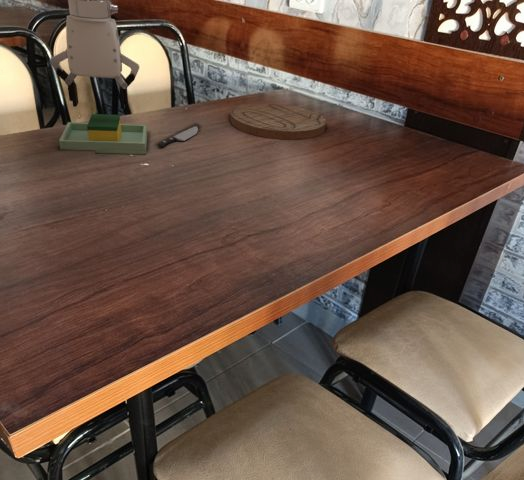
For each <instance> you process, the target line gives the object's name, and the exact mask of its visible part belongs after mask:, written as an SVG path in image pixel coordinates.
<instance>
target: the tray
mask: <svg viewBox="0 0 524 480" xmlns="http://www.w3.org/2000/svg"><path fill="white" fill-rule="evenodd" d="M88 123H89V122H75V121H73V122H72V121H71V122H70V121H68V122H67V123H66V125H65V128H64V129H63V131H62V134H61V136H60V138H59V140H58V143H59V150H70V151H71V150H72V151H73V150H74V151H94V153H95V154H117V155H118V154H122V155H123V154H124V155H146V154H147V143H148V125H147V124H129V123H121V138H120V142H115V141H89V136H88V129H87V125H88Z"/></svg>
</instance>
